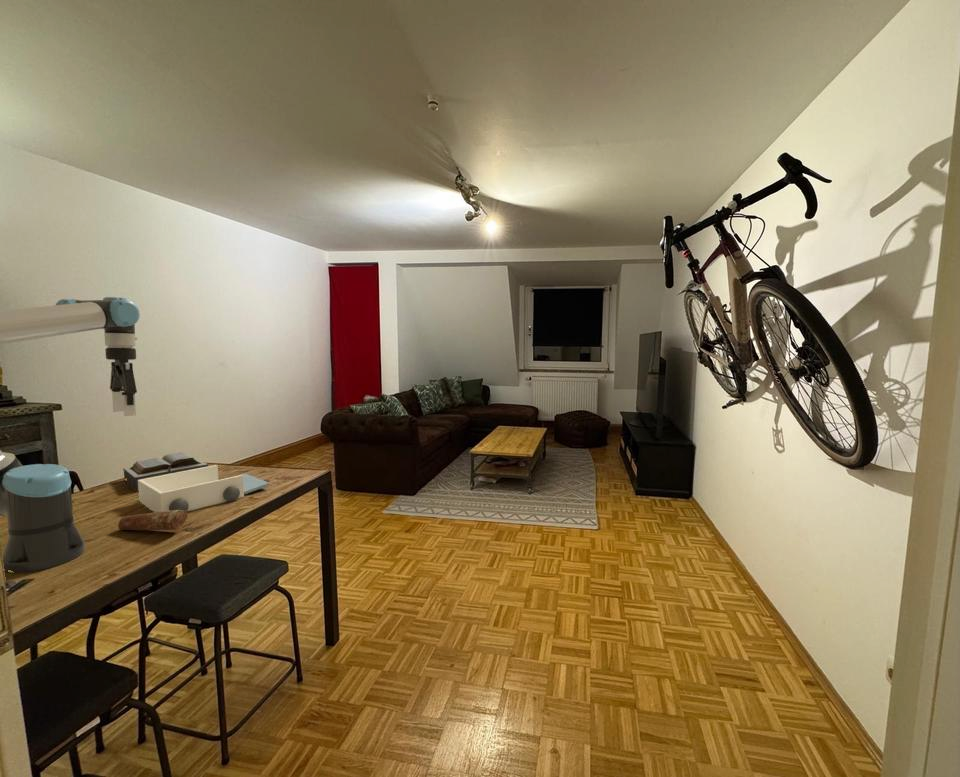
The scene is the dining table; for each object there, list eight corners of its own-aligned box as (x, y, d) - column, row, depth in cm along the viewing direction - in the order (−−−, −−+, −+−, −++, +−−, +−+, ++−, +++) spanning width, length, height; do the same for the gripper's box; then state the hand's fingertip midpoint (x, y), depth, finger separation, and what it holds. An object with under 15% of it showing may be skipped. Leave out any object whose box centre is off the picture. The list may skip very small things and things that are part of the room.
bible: (210, 482, 175) (209, 458, 174) (123, 496, 158) (121, 470, 157) (203, 469, 193) (202, 447, 192) (124, 480, 176) (122, 456, 175)
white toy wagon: (163, 519, 137) (162, 494, 136) (137, 501, 152) (136, 479, 152) (246, 497, 157) (245, 476, 156) (216, 484, 172) (214, 464, 171)
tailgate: (243, 492, 159) (269, 482, 166) (219, 481, 171) (244, 473, 178) (243, 494, 159) (269, 485, 166) (219, 484, 171) (244, 475, 178)
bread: (177, 534, 125) (171, 517, 124) (115, 534, 127) (109, 517, 125) (192, 521, 131) (187, 505, 130) (133, 521, 133) (128, 505, 131)
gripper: (146, 347, 135) (150, 416, 136) (125, 347, 150) (128, 408, 152) (115, 347, 129) (119, 418, 131) (96, 346, 145) (99, 410, 146)
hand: (124, 413), depth 141 cm, fingers open, 13 cm apart
